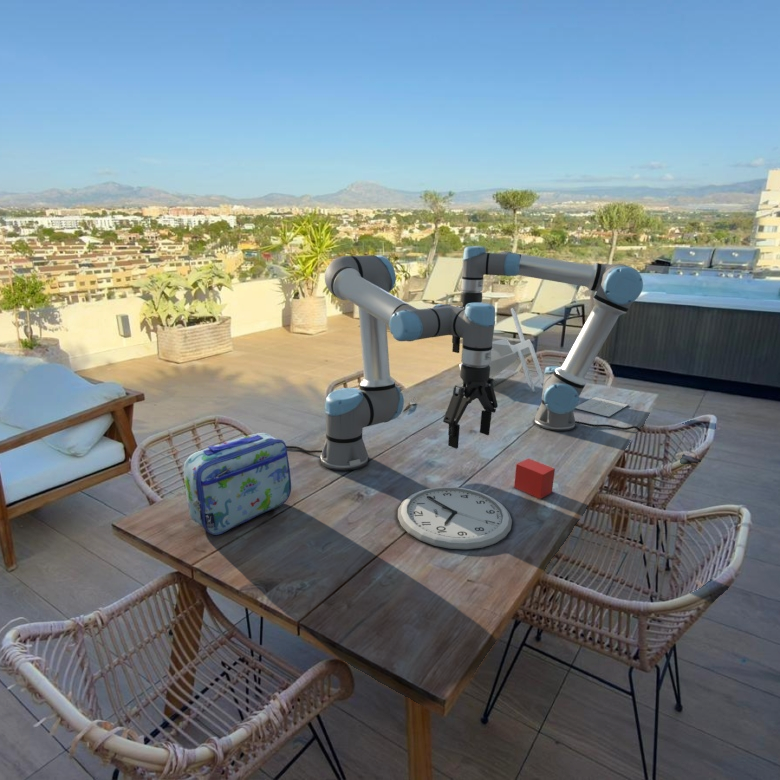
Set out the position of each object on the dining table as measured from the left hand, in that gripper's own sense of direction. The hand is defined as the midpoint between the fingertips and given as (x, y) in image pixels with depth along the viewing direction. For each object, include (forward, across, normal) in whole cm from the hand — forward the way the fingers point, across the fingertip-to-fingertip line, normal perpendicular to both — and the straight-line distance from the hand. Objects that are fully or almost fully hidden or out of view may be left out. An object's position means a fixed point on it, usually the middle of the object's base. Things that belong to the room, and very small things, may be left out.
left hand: (469, 440), depth 141 cm
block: (+18, +20, -10) cm, 29 cm away
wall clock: (+18, -9, -4) cm, 21 cm away
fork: (+20, +45, +66) cm, 82 cm away
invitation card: (+19, +108, +11) cm, 110 cm away
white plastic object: (+20, +101, +59) cm, 119 cm away
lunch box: (+19, -50, +34) cm, 63 cm away
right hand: (-11, +45, +37) cm, 59 cm away
